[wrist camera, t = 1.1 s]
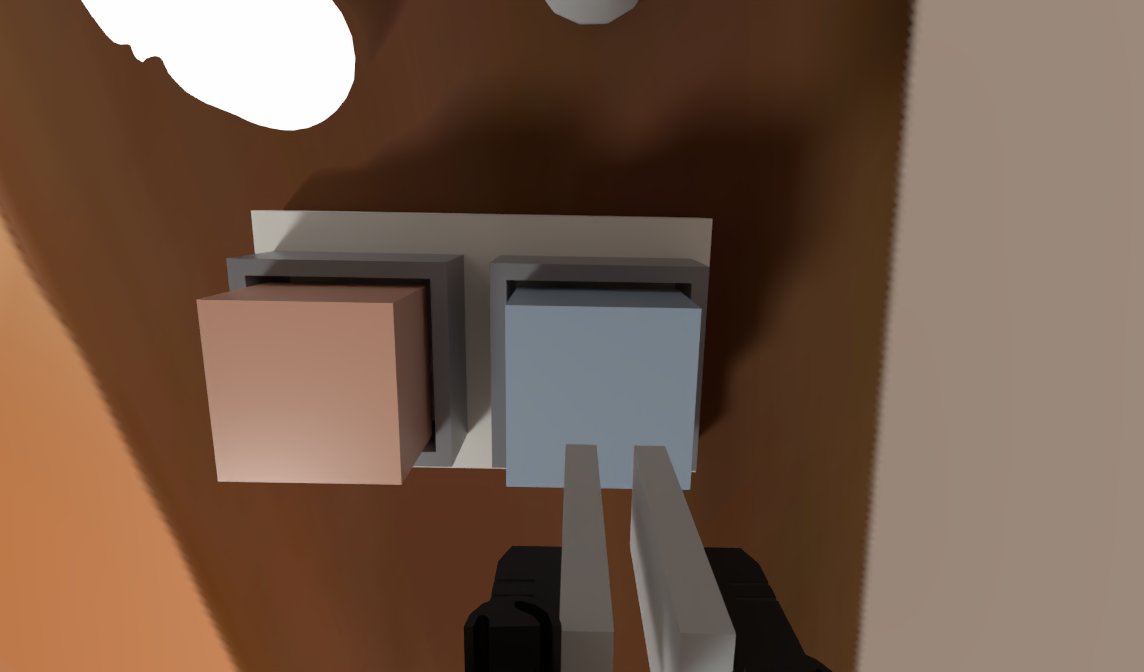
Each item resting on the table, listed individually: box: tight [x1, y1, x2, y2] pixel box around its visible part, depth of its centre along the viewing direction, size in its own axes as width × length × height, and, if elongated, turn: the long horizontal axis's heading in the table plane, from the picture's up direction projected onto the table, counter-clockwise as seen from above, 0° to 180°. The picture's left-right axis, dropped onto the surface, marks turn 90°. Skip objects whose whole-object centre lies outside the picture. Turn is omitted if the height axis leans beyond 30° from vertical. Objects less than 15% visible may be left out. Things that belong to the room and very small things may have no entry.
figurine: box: [82, 0, 355, 130], centre depth 24 cm, size 7×7×12 cm
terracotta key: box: [197, 282, 432, 485], centre depth 24 cm, size 7×7×5 cm
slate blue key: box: [505, 286, 702, 490], centre depth 24 cm, size 7×7×5 cm
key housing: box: [226, 210, 713, 472], centre depth 29 cm, size 13×22×7 cm, turn 89°
